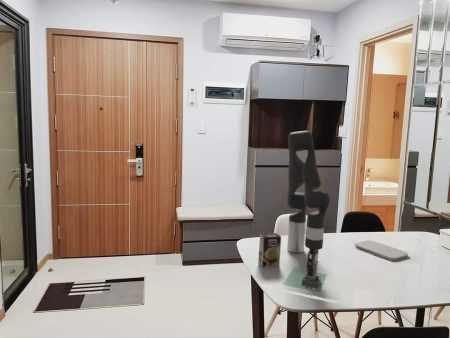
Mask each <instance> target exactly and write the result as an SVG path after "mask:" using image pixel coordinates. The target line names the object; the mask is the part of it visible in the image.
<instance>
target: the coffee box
mask: <svg viewBox="0 0 450 338" xmlns="http://www.w3.org/2000/svg"><path fill="white" fill-rule="evenodd" d="M281 242H282V236H281V235H280V234H278V233H276V232H275V233H274V232H272V233H260V234H259V245H258V246H259V248H258V259H257V261H258V263H257V265H258V266H261V267H262V268H271V267H280V264H281V263H280V261H281V260H280V259H281V244H282V243H281Z"/></svg>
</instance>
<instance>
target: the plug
mask: <svg viewBox="0 0 450 338" xmlns="http://www.w3.org/2000/svg"><path fill="white" fill-rule="evenodd" d="M309 265H312V263H310V264H309ZM318 268H319V260H316V263H314V268H313V276H308V267H307V266H306V271H307V273H306V279H307V280H312V281H317V273H318Z"/></svg>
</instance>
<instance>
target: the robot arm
mask: <svg viewBox="0 0 450 338" xmlns="http://www.w3.org/2000/svg"><path fill="white" fill-rule="evenodd" d="M287 143H288V190H287V191H288V192H287V201H286V202H287V207H288V208H290V209H293V210H295V209H296V210H299V211H298V212H297V211H296V212H294V213H291V214H290V215H289V217H288V231H287V232H288V234H287V248H286V249H287V250H286V251H288V252H289V253H294V254H301V253H304V251H305V247H306V248H307V249H308V252H307V259H306V260H307V261H306V268H307V267H308V276H313V268H314V263H316V260H317V261H319V260H318V259H319V250H322V249H323V247H324V246H323V245H324V235H325V234H324V224H325V216H326V214H327V211H328V208H329V205H330V202H331V201H330V200H331V199H330V195H329V194H328V192H327V191H315V190H316V189H319V188H320V187H321V184H322V183H321V178H320V174H319V172H318V166H317V160H316V152H315V144H314V138H313V134H312V132H311V131H309V130H302V131H300V130H299V131H293V132H290V133H289V134H288V140H287ZM303 151H306V152H307V157H306V159H305V160H304V161H305V162H304V161H303V160H302V159H301V158H300V157H299V156H298V153H297V152H303ZM303 184H304V192H299V191H297V190H298V189H299V188H300V187H301V186H302V185H303ZM307 208H309V209H316V210H315V211H311V212H309V213H308V214H307ZM310 263H312V265H309V264H310Z"/></svg>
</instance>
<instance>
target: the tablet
mask: <svg viewBox="0 0 450 338" xmlns="http://www.w3.org/2000/svg"><path fill="white" fill-rule="evenodd" d="M354 246H355V248H356V249H359V250H361V251H364V252H366V253H368V254H371V255H374V256H377V257H378V258H379V257H380V258H382V259H385V260H388V261H393V262H394V261H397V260H401V259H405V258H407V256H409V253H408V252H407V251H404V250H402V249H399V248H397V247H396V248H395V247H393V246H389V245H386V244H383V243H381V242H377V241H375V240H363V241H360V242H358V241H357V242H355V243H354Z"/></svg>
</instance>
